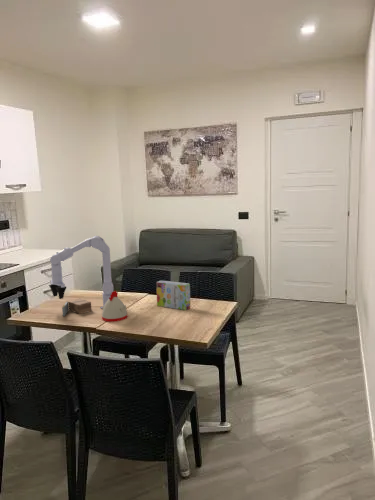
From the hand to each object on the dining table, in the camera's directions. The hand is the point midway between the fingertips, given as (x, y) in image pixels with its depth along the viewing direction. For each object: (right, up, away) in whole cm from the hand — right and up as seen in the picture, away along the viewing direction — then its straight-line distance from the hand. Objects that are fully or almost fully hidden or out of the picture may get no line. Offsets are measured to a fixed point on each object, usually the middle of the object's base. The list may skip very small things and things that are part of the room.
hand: (58, 297), depth 238 cm
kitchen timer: (+35, -10, -12) cm, 39 cm away
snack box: (+68, -6, +3) cm, 68 cm away
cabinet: (+12, -8, +3) cm, 15 cm away
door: (+5, -9, -1) cm, 10 cm away
